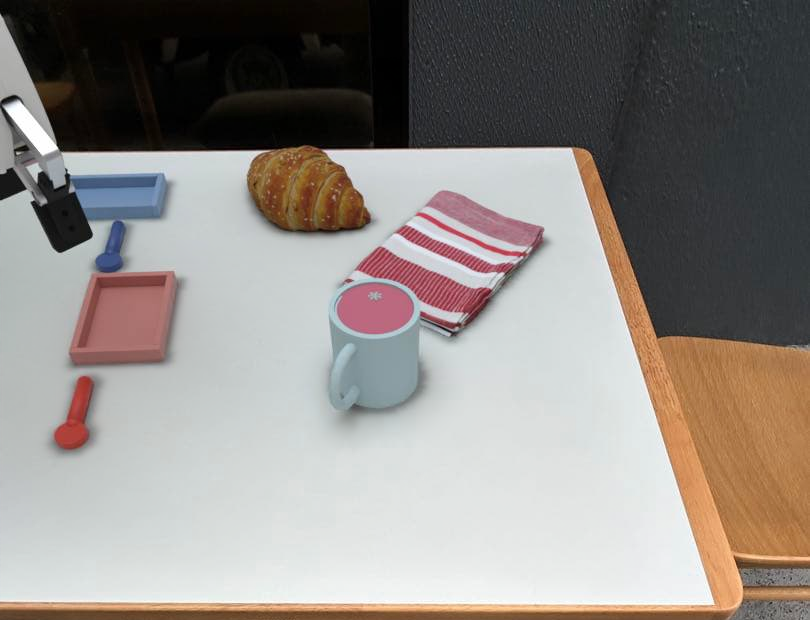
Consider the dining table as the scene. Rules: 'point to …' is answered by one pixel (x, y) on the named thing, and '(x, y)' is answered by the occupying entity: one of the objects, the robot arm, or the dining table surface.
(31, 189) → the robot arm
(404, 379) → the mug
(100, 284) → the rose tray
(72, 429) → the red spoon
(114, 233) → the blue spoon
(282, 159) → the pastry
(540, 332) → the dining table surface
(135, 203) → the blue tray
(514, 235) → the dish towel
